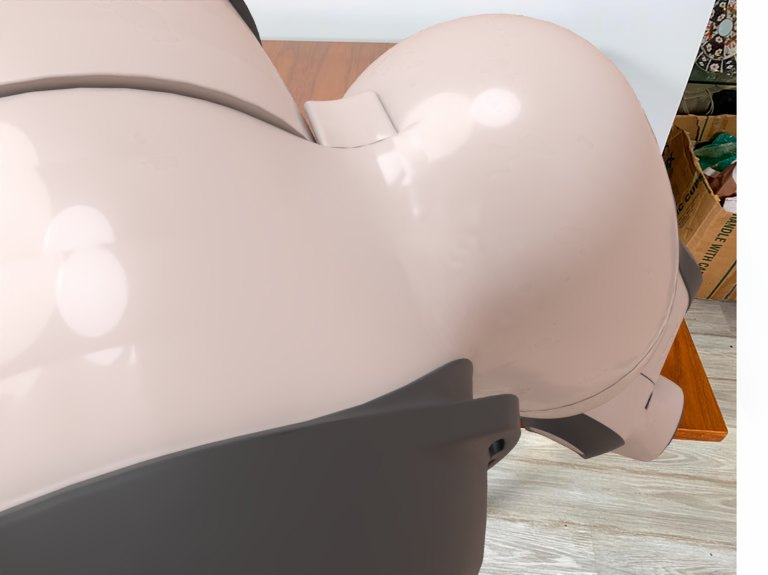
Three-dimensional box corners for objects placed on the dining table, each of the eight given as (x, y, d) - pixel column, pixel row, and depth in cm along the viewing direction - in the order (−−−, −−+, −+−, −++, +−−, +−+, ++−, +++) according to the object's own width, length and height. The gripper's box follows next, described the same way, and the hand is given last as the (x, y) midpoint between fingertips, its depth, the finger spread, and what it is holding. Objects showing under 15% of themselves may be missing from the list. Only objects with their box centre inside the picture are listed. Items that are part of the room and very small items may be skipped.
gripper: (544, 265, 61) (427, 221, 66) (456, 409, 48) (321, 342, 53) (533, 306, 65) (425, 262, 70) (450, 447, 53) (326, 382, 58)
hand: (379, 297), depth 62 cm, fingers open, 8 cm apart
